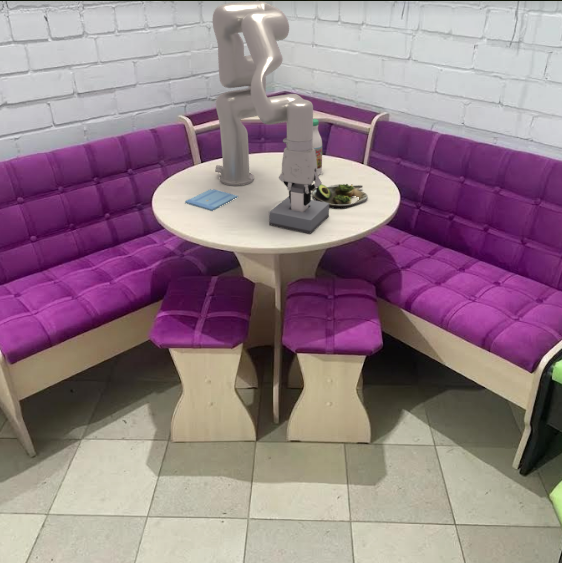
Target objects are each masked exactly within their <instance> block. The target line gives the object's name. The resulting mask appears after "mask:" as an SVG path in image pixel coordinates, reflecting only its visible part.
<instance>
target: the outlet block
mask: <svg viewBox="0 0 562 563" xmlns="http://www.w3.org/2000/svg"><path fill="white" fill-rule="evenodd" d="M329 216H330V207H329V203H326V202H320V201H316V200H315V199H311V201H310V203H308V209H307V210H306V211H305V212H299V211H294V210H291V203H290V199H289V195H288V196H287V197H286V198H284V200H282V201H281V202H279V203H278V204H277V205H276V206H274V207H273V208H272V209H271V210H269V211H268V222H269V223H268V224H269V226H270V227H275V228H281V229H286V230H290V231H294V232H300V233H303V234H304V233H305V234H309V235H310V234H313V232H314V231H315V230H316V229H317V228H318V227H319V226H321V224H323V223H324V222H325V220H327V218H329Z"/></svg>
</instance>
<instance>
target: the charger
mask: <svg viewBox="0 0 562 563" xmlns="http://www.w3.org/2000/svg"><path fill="white" fill-rule="evenodd" d="M304 193H305V187H304V185H302V184H296V183H295V184H294V185H292V186H291V210H294V211H299V212H305V211H306V210H307V209H308V204H307V205H306V206H305V205H304Z"/></svg>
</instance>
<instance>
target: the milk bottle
mask: <svg viewBox="0 0 562 563" xmlns="http://www.w3.org/2000/svg"><path fill="white" fill-rule="evenodd" d="M319 124H320V122H319V119H317V118H313V149H315V154H316V160H317V175H318V176H320V175H321V174H322V172H323V171H322V170H323V140H322V136H321V134H320V132H319Z"/></svg>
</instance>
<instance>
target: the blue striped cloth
mask: <svg viewBox="0 0 562 563" xmlns="http://www.w3.org/2000/svg"><path fill="white" fill-rule="evenodd" d="M237 197H238V198H239V195H236V194H233V193H231V192H230V193H228V192H226V191H221V190H217V189H214V188H213V189H211V188H210V189H207V190H205V191H204V192H201V193H200V194H198V195H195V196H193V197H191V198H189V199H187V200H185V201H184V204H186V203H187V205H190V206H193V207H197V208H199V209H203V210H207V211H210V212H213V210H214V211H215V210H218V209H219V208H221V207H223V206H225V205H227V204H229V203H231V202H232V200H233V199H235V198H237ZM238 198H237V199H238ZM235 200H236V199H235ZM230 201H231V202H230ZM233 201H234V200H233ZM228 202H229V203H228ZM226 203H227V204H226ZM224 204H225V205H224ZM222 205H223V206H222ZM220 206H221V207H220Z"/></svg>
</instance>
